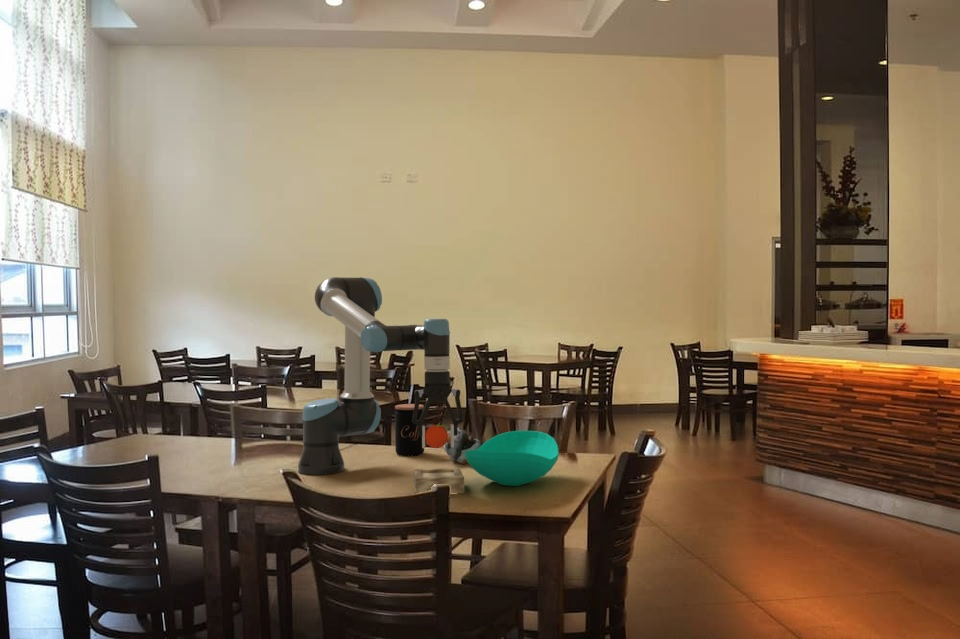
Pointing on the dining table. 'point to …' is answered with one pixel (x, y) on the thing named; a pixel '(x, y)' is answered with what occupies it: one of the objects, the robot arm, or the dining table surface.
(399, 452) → the coffee jar
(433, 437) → the clementine
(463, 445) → the grey sculpted piece
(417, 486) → the tray
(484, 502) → the dining table surface
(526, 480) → the table top decor
